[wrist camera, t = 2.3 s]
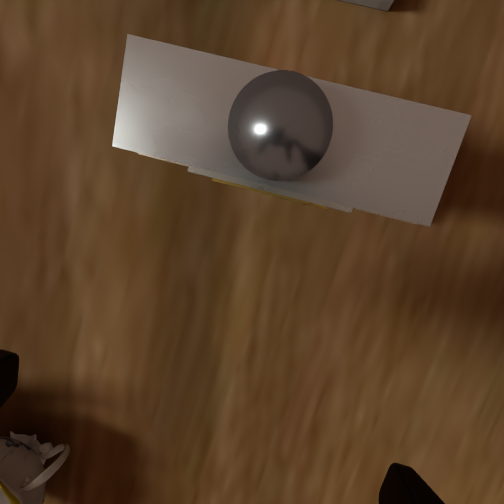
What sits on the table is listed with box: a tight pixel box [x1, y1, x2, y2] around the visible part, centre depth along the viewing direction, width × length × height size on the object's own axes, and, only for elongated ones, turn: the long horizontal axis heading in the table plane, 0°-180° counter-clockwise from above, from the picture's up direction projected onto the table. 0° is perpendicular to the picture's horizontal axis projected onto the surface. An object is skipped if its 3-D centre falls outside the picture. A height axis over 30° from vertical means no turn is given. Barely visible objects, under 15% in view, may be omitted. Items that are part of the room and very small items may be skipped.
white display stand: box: [112, 34, 472, 227], centre depth 14 cm, size 14×4×9 cm, turn 76°
